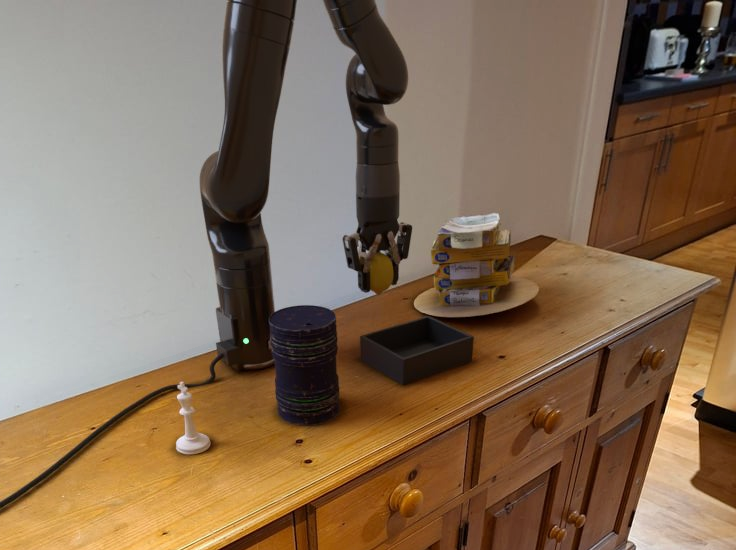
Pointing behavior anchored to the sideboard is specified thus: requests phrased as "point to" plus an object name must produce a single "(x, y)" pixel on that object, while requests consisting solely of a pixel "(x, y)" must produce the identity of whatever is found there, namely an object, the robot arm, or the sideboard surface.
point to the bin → (416, 349)
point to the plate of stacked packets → (473, 270)
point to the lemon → (380, 273)
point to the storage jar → (305, 364)
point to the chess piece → (190, 427)
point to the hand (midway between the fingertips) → (378, 287)
